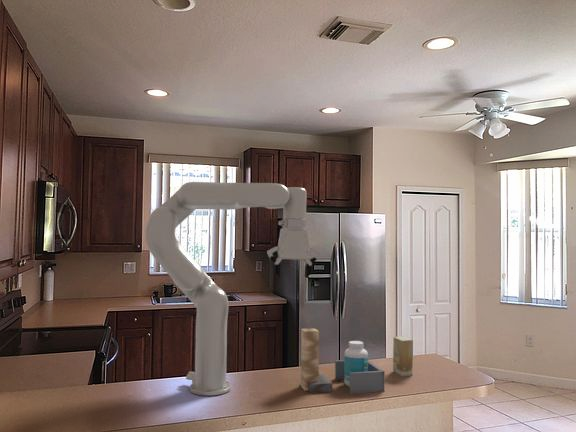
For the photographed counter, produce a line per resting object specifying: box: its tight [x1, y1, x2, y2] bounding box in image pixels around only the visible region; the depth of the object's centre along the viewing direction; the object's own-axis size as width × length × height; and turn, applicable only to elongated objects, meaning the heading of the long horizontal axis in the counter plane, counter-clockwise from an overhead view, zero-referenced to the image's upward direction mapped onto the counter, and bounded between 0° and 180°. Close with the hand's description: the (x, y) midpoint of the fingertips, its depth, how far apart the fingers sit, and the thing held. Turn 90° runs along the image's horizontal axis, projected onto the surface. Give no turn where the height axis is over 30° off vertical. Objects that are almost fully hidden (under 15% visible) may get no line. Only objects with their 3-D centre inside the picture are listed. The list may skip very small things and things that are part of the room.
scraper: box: [300, 327, 333, 394], centre depth 148 cm, size 8×9×18 cm
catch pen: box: [334, 359, 385, 394], centre depth 150 cm, size 11×15×6 cm
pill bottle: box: [343, 340, 369, 387], centre depth 151 cm, size 8×7×14 cm
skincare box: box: [392, 335, 414, 377], centre depth 163 cm, size 6×4×12 cm
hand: (292, 277), depth 154 cm, fingers open, 9 cm apart
